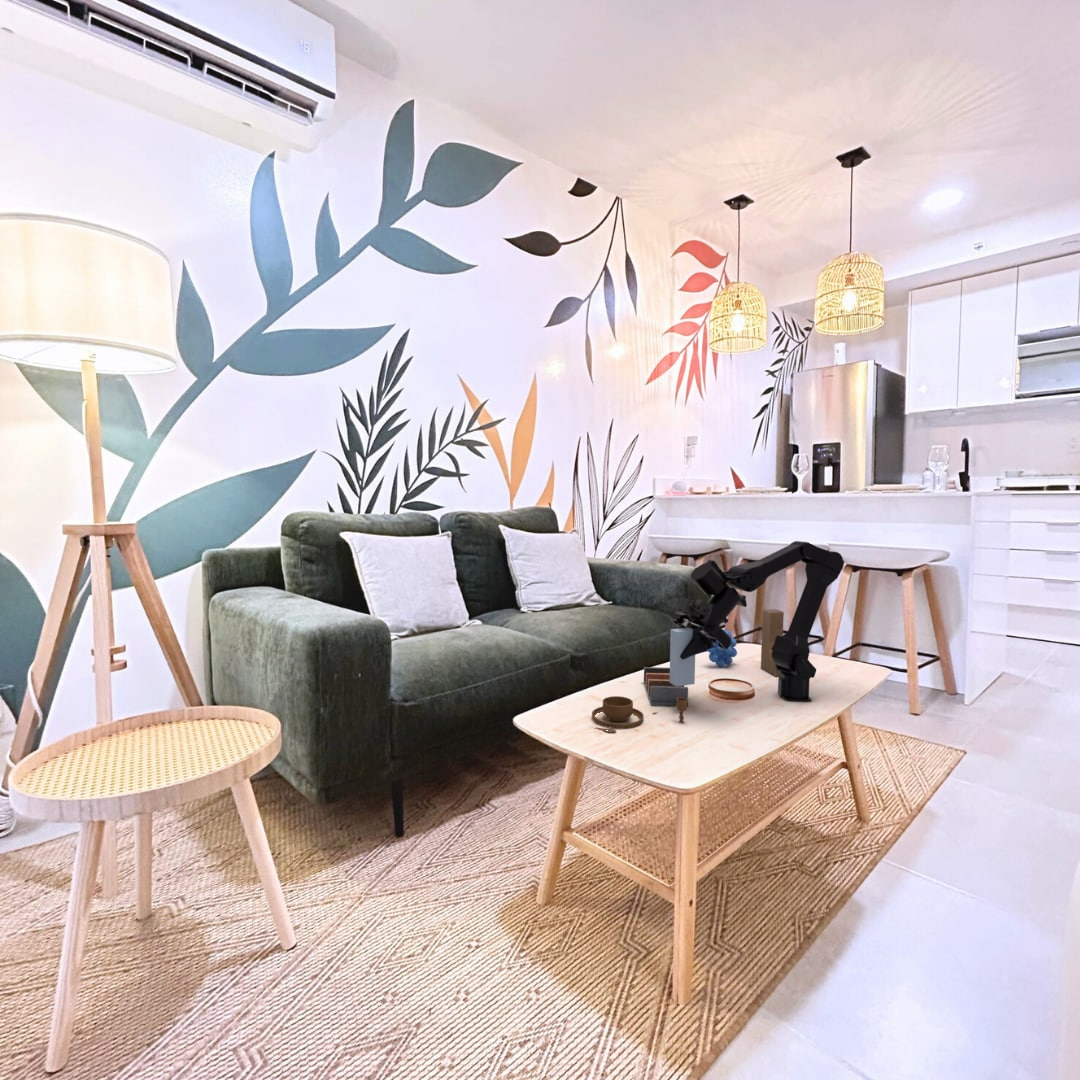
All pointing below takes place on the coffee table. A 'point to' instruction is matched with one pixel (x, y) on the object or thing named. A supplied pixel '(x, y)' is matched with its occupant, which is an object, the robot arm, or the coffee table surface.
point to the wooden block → (770, 638)
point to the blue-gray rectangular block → (679, 668)
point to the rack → (662, 687)
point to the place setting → (627, 712)
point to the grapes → (723, 652)
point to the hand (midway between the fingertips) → (677, 656)
